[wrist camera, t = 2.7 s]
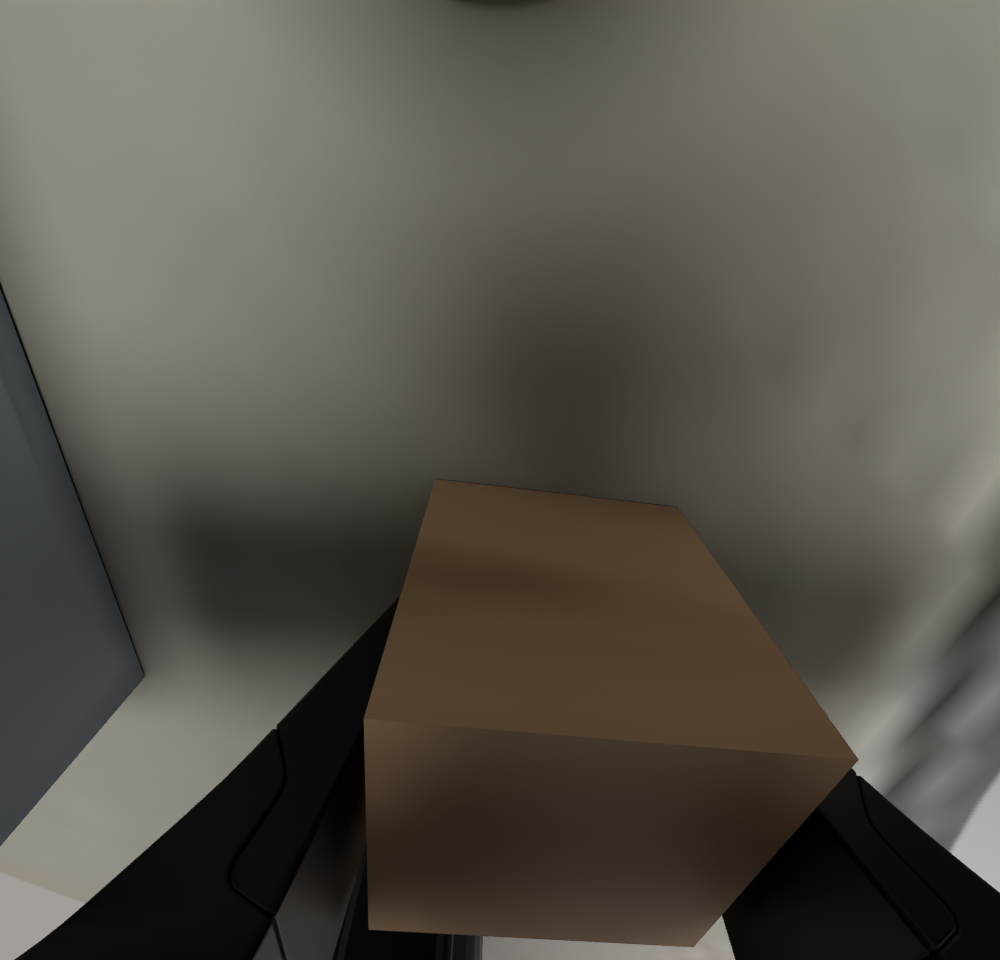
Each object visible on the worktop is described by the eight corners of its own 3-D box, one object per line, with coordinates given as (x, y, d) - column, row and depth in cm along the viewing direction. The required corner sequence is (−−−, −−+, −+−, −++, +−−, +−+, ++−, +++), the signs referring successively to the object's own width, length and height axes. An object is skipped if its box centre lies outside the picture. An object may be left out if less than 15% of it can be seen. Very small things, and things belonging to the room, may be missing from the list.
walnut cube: (616, 671, 11) (693, 947, 7) (422, 653, 11) (369, 930, 6) (677, 507, 9) (858, 759, 4) (435, 478, 8) (363, 718, 4)
